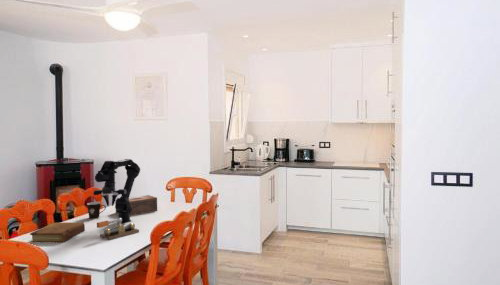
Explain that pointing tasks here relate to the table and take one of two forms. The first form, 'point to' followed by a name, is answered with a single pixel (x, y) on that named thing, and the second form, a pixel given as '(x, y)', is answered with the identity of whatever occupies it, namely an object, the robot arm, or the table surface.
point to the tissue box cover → (142, 204)
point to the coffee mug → (94, 209)
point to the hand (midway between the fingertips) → (110, 206)
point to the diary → (57, 232)
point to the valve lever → (108, 222)
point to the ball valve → (119, 231)
